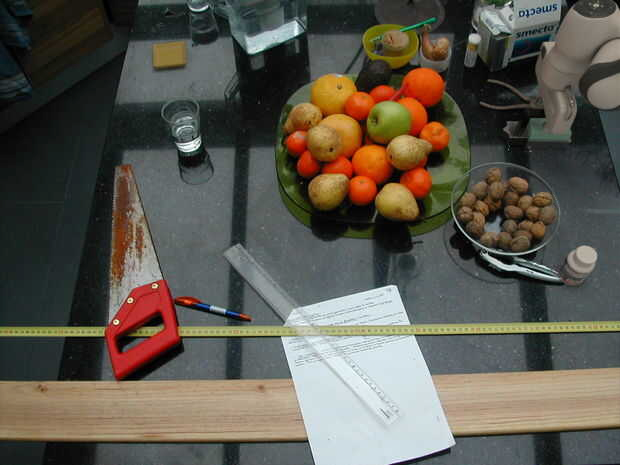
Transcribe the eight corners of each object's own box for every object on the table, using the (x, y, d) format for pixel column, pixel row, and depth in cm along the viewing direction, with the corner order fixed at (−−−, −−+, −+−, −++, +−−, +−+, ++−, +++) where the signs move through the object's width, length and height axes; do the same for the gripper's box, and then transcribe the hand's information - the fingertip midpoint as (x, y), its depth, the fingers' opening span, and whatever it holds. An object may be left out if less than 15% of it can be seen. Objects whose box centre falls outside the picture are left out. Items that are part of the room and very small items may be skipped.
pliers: (481, 77, 145) (562, 87, 142) (480, 80, 146) (560, 89, 143) (479, 105, 140) (563, 115, 138) (479, 108, 141) (561, 118, 138)
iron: (561, 127, 137) (576, 99, 129) (566, 149, 134) (582, 122, 125) (497, 126, 138) (508, 98, 130) (501, 148, 134) (513, 121, 126)
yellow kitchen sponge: (186, 46, 155) (185, 40, 153) (187, 68, 150) (186, 62, 149) (155, 50, 154) (153, 44, 152) (155, 72, 150) (153, 66, 148)
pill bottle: (570, 258, 119) (586, 237, 111) (588, 277, 117) (607, 257, 109) (551, 271, 118) (567, 250, 110) (570, 290, 115) (587, 270, 108)
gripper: (590, 108, 112) (565, 152, 124) (570, 37, 122) (548, 84, 134) (558, 107, 112) (536, 151, 124) (541, 37, 122) (521, 83, 134)
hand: (542, 116), depth 129 cm, fingers open, 7 cm apart
